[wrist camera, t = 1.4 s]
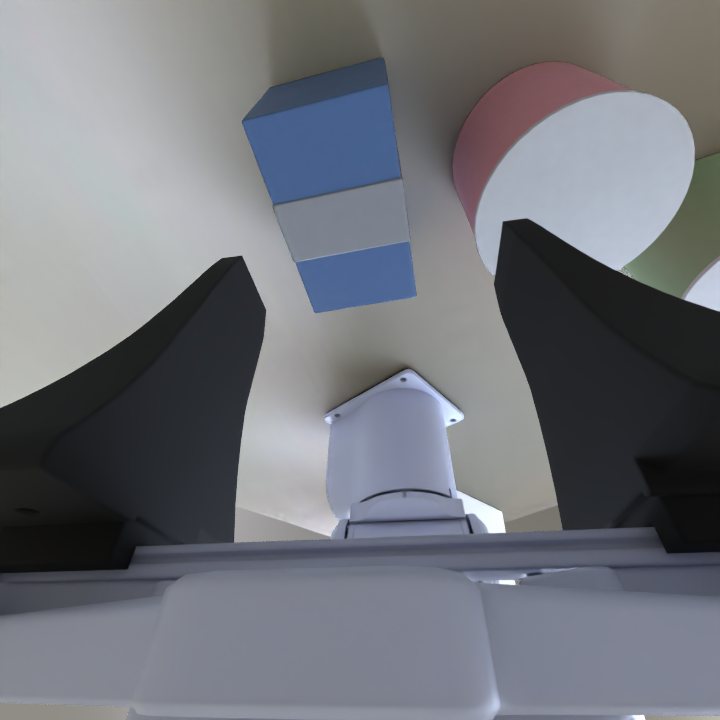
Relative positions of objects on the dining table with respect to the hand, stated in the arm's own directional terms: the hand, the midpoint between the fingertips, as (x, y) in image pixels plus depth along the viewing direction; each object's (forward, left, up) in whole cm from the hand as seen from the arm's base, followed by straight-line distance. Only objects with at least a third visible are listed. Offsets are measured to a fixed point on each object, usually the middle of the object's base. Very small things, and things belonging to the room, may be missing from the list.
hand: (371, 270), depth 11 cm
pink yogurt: (+5, -5, -10) cm, 13 cm away
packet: (-2, 0, -10) cm, 10 cm away
